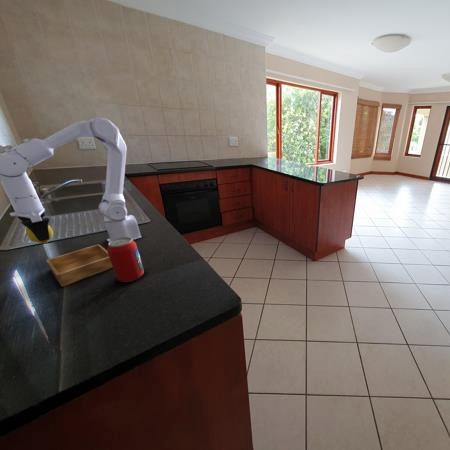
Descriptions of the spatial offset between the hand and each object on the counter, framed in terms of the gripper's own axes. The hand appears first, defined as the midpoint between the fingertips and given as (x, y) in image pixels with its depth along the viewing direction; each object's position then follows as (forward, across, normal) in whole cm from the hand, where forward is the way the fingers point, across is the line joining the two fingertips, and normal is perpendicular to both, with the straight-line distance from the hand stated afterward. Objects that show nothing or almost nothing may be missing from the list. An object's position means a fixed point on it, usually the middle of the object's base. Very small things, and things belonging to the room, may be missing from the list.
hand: (42, 237), depth 75 cm
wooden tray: (+9, +13, +5) cm, 17 cm away
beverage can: (+9, +30, +12) cm, 34 cm away
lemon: (+2, 0, 0) cm, 2 cm away
